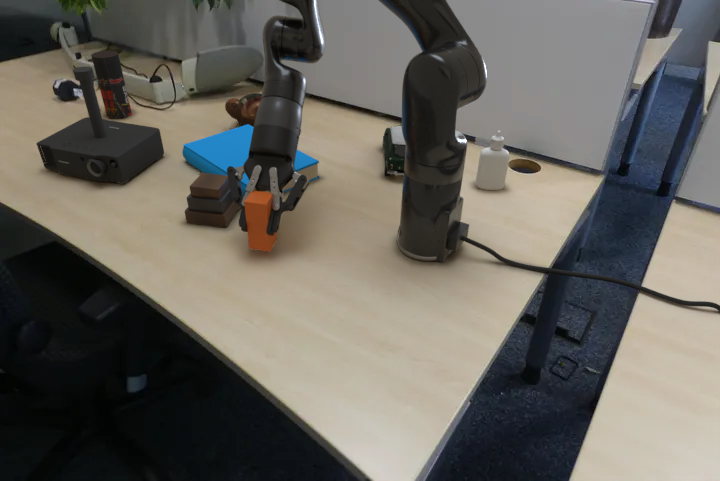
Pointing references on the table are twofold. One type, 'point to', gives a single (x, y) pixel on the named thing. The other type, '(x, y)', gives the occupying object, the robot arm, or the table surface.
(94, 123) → the projector
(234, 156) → the book
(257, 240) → the bar
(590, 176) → the table surface
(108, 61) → the deodorant
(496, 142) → the eye dropper bottle
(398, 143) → the miniature car
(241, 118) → the decorative turtle
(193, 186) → the brown stepped pyramid
